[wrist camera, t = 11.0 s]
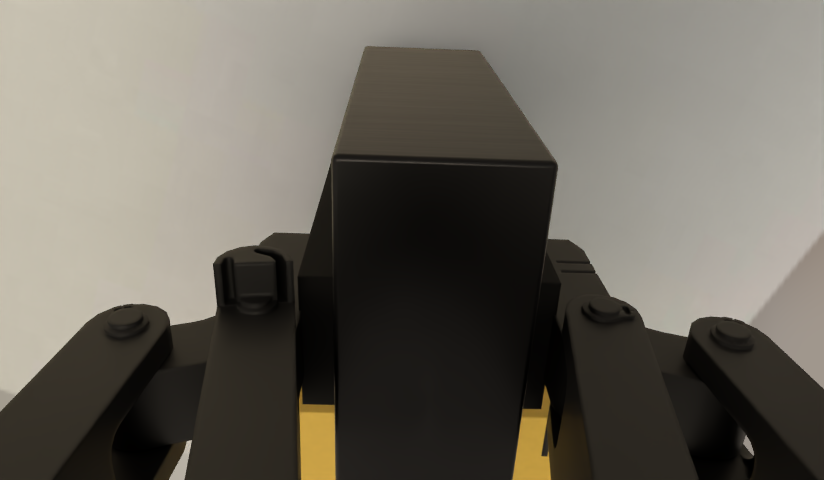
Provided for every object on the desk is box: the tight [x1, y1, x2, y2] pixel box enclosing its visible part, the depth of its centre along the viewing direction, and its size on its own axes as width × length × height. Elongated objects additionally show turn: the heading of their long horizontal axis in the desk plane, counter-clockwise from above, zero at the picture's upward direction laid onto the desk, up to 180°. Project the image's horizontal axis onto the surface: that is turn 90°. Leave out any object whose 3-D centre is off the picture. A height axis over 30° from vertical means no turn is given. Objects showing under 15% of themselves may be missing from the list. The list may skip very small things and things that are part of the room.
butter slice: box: [299, 388, 335, 480], centre depth 25 cm, size 3×5×4 cm, turn 178°
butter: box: [513, 386, 551, 480], centre depth 25 cm, size 5×5×4 cm
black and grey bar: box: [331, 46, 558, 480], centre depth 16 cm, size 18×3×9 cm, turn 178°
